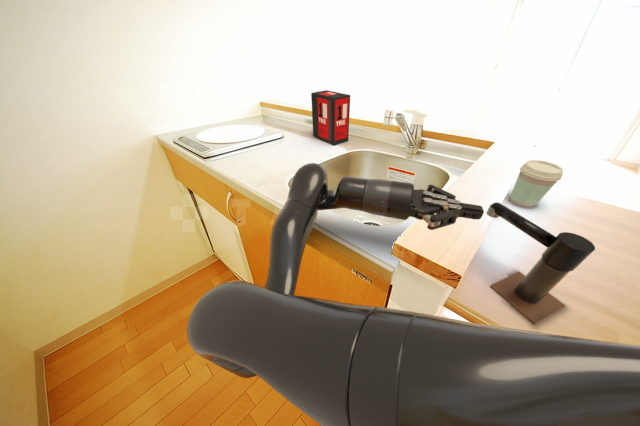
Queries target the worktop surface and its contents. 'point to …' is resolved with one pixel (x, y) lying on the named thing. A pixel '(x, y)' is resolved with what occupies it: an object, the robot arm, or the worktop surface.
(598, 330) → the worktop surface
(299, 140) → the worktop surface
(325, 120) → the cleaning product box
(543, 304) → the base
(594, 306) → the worktop surface
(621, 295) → the worktop surface
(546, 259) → the spout
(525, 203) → the coffee cup
